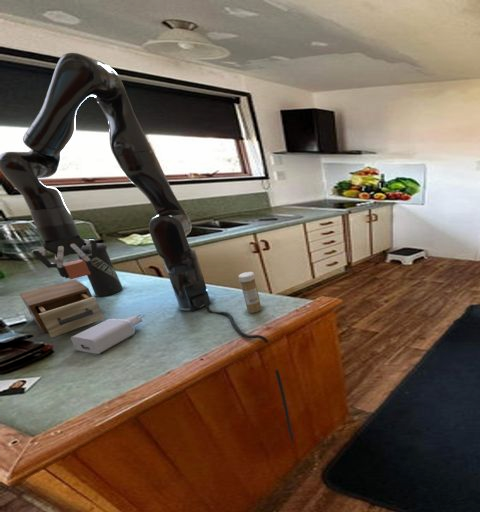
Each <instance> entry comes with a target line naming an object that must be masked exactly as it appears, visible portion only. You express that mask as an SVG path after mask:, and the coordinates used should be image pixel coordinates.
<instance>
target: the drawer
mask: <svg viewBox="0 0 480 512" xmlns="http://www.w3.org/2000/svg"><path fill="white" fill-rule="evenodd" d="M36 307H37V309H38V311H39V316H40V318H41V319H42V321H43V323H44V325H45V327H46V328H47V330H48V332H47V333H48V334H49V335H50V338H56V337H58V336H60V335H63V334H67V333H68V332H72V331H74V330H77V329H80V328H83V327H85V326H88V325H90V324H94V323H96V322H99V321H101V320H104V319H105V316H104V314H103V311H102V309H101V307H100V305H99V303H98V300H97V299H96V296H92V297H91V298H90V297H88V296H87V295H86V294H84V293H79V294H76V295H73V296H69V297H66V298H63V299H59V300H56V301H53V302H49V303H46V304H43V305H39V306H36Z"/></svg>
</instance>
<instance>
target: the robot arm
mask: <svg viewBox="0 0 480 512" xmlns="http://www.w3.org/2000/svg"><path fill="white" fill-rule="evenodd" d="M89 97H94V99H95V100H96V102H97V103H98V105H99V106H100V108H101V110H102V112H103V114H104V115H105V118H106V120H107V124H108V133H109V146H110V151H111V153H112V155H113V157H114V159H115V160H116V162H117V164H118V166H119V168H120V169H121V171H122V173H123V174H124V176H125V177H126V178H127V179H128V180H129V181H130V182H131V183H132V185H134V186H135V187H136V188H137V189H138V190H139V191H140V192H141V193H142V194H143V195H144V196H145V197H146V198H147V199H148V201H149V202H150V204H151V206H152V208H153V209H154V213H155V214H156V216H154V217H152V218H151V219H150V221H149V223H148V232H149V235H150V238H151V240H152V243H153V246H154V248H155V250H156V252H157V254H158V256H159V257H160V258H161V259H162V261H163V264H164V267H165V270H166V273H167V275H168V279H169V281H170V285H171V287H172V290H173V292H174V296H175V299H176V302H177V305H178V308H179V310H180V311H182V312H189V311H190V312H195V311H197V310H199V309H201V308H203V307H205V309H206V311H207V312H208V313H209V314H216V315H225V316H227V317H228V318H229V320H230V323H231V325H232V326H233V328H234V329H235V331H236V333H238V334H239V335H240V336H242V337H244V338H246V339H260V340H262V341H263V342H265V343H269V342H270V340H269V339H267V338H266V337H265V336H264V335H261V334H247V333H245V332H244V331H242V330H241V328H240V327H239V326H238V325H237V324H236V322H235V320H234V317H233V316H232V314H231V313H230V312H228V311H213V310H211V309H210V305H211V297H210V294H209V290H208V288H207V285H206V281H205V278H204V274H203V272H202V271H203V270H202V268H201V264H200V260H199V257H198V253H197V251H196V249H195V248H193V247H191V246H190V243H189V242H188V238H187V236H188V235H189V234H190V233H191V231H192V228H193V227H192V226H193V225H192V221H191V219H190V217H189V215H188V214H187V212H186V211H185V209H184V208H183V206H182V205H181V203H180V201H179V200H178V198H177V196H176V195H175V193H174V191H173V189H172V186H171V185H170V183H169V180H168V179H167V177H166V175H165V172H164V170H163V168H162V166H161V163H160V162H159V160H158V158H157V156H156V154H155V152H154V150H153V148H152V146H151V144H150V142H149V141H148V139H147V136H146V134H145V133H144V130H143V127H142V126H141V124H140V122H139V120H138V118H137V116H136V114H135V112H134V110H133V109H134V108H133V107H132V104H131V101H130V99H129V96H128V94H127V91H126V89H125V86H124V84H123V82H122V79H121V77H120V76H119V74H118V73H117V72H116V71H115V69H113V68H112V67H111V66H110V65H108V64H106V63H104V62H103V61H101V60H98V59H95V58H93V57H90V56H88V55H85V54H81V53H78V52H67V53H65V54H62V56H61V57H59V59H58V61H57V63H56V65H55V68H54V71H53V74H52V77H51V81H50V82H49V86H48V89H47V91H46V95H45V98H44V101H43V104H42V106H41V108H40V110H39V112H38V114H37V116H36V117H35V118H34V120H33V121H32V123H31V124H30V126H29V127H28V129H27V130H26V131H25V133H24V135H23V137H22V141H23V143H24V145H25V146H26V147H28V148H29V149H30V150H29V151H6V152H3V153H1V154H0V172H1V173H2V175H3V176H4V178H6V179H7V181H8V182H10V184H11V185H12V186H13V187H14V189H16V190H17V191H18V192H19V193H20V195H21V196H22V197H23V199H24V202H25V203H26V206H27V207H28V210H29V213H30V217H31V219H32V221H33V224H34V226H35V227H36V229H37V231H38V233H39V236H40V238H41V239H42V241H43V245H42V247H39V248H37V249H32V250H31V254H32V255H33V256H35V257H36V258H37V259H38V260H39V261H40V262H41V263H42V264H43V265H44V266H45V267H47V268H48V269H51V268H55V269H57V272H58V274H59V276H60V277H61V278H65V279H70V278H69V276H68V274H67V271H66V269H65V267H64V266H63V263H64V257H66V256H69V255H77V256H78V255H79V256H80V257H81V258H82V259H83V260H84V261H85V262H86V265H87V267H88V269H89V271H90V272H92V271H91V270H93V266H92V264H91V259H93V258H96V257H97V243H98V241H97V240H96V239H94V238H90V239H84V238H83V237H81V235H80V233H79V231H78V228H77V226H76V224H75V221H74V219H73V216H72V214H71V212H70V211H69V209H68V208H67V206H66V204H65V202H64V199H63V197H62V194H61V191H59V190H58V189H57V188H56V187H53V186H48V185H47V186H46V185H44V184H43V182H41V180H40V179H44V178H50V177H52V176H53V175H55V174H56V173H57V172H58V170H59V168H60V165H61V160H62V154H63V152H64V150H65V149H66V148H67V146H68V145H69V143H70V142H71V141H72V140H73V137H74V135H75V132H76V115H77V111H78V109H79V107H80V106H81V104H82V103H83V102H84V101H85V100H87V98H89ZM84 244H86V245H88V246H89V252H90V255H88V256H87V255H86V254H85V253H84V252H83V251H82V250H81V248H82V246H84ZM46 251H47V252H49V253H51V254H54V262H51V261H49V259H47V258H46V257H45V256H46ZM79 256H78V257H79ZM275 376H276V378H277V383H278V387H279V390H280V395H281V400H282V404H283V410H284V414H285V419H286V424H287V429H288V434H289V438H290V441H291V442H294V441H295V439H294V435H293V430H292V425H291V420H290V415H289V409H288V406H287V405H288V404H287V400H286V395H285V390H284V386H283V383H282V379H281V374H280V371H279V369H276V370H275Z"/></svg>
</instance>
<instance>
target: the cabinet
mask: <svg viewBox="0 0 480 512" xmlns="http://www.w3.org/2000/svg"><path fill="white" fill-rule="evenodd" d="M79 293H84V294H86V295H87V296H88V297H90V298H91V297H93V295H92V293H91V290H90V288H89V287H87V286H86V285H85V284H84V283H82V282H80V281H79V280H77V278H74V279H70V280H66V281H63V282H59V283H55V284H51V285H48V286H44V287H40V288H36V289H33V290H29V291H25V292H21V293H19V296H20V297H21V300H22V302H23V303H24V304H25V306H26V308H27V310H28V311H29V314H30V316H31V318H32V319H33V320H34V322H35V324H36V325H37V326H38V327H39V329H40V330H41V331H42V333H43V334H46V333H49V332H48V330H47V328H46V327H45V325H44V323H43V321H42V319H41V318H40V316H39V311H38V309H37V307H36V306H39V305H43V304H46V303H49V302H53V301H56V300H59V299H63V298H66V297H69V296H73V295H76V294H79Z"/></svg>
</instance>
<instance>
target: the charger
mask: <svg viewBox="0 0 480 512" xmlns="http://www.w3.org/2000/svg"><path fill="white" fill-rule="evenodd" d="M145 316H146V315H145V314H144V315H143V314H142V315H141V314H138V315H136V316H135V315H130V316H128V317H126V318H125V319H119V318H107V319H106V320H104V321H102V322H100V323H98V324H96V325H94V326H91V327H89V328H87V329H85V330H83V331H81V332H79V333H77V334H75V335H72V336H71V337H70V341H71V343H72V344H73V346H74V349H76V350H77V351H79V352H84V353H89V354H95V355H100V354H101V353H104V352H105V351H106V350H109V349H110V348H112V347H113V346H115V345H117V344H119V343H121V342H123V341H124V340H126V339H128V338H129V337H130V338H131V336H133V335H135V332H136V329H135V326H136V325H138V324H140V323H142V322H143V318H144V317H145Z"/></svg>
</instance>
